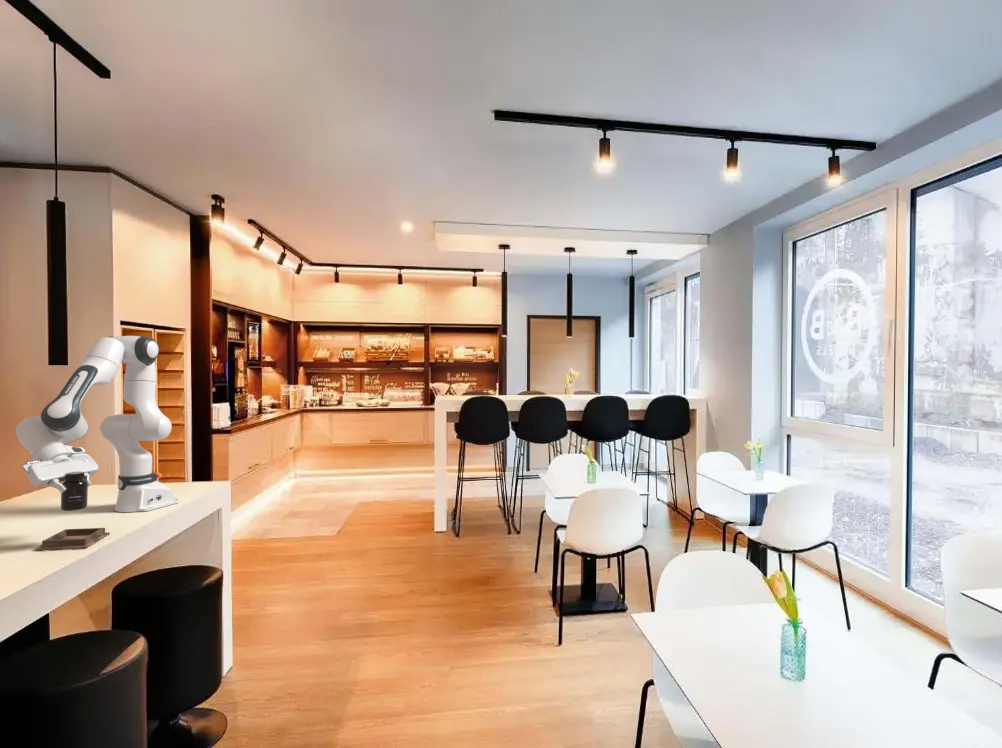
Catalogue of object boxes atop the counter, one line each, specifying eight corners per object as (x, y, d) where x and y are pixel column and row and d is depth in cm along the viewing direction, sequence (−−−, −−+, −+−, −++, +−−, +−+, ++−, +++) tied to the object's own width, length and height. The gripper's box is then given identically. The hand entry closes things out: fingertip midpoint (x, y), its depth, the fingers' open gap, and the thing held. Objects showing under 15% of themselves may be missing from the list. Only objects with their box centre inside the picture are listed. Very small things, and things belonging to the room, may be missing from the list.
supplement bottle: (71, 511, 166) (72, 475, 166) (55, 510, 168) (55, 474, 167) (92, 506, 173) (93, 471, 173) (76, 504, 174) (77, 470, 174)
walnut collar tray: (63, 536, 176) (63, 528, 176) (109, 534, 179) (109, 526, 179) (36, 551, 162) (36, 542, 162) (86, 548, 165) (86, 540, 165)
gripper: (24, 456, 161) (49, 489, 160) (87, 446, 181) (110, 475, 180) (13, 469, 162) (38, 502, 160) (77, 458, 182) (99, 487, 181)
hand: (77, 488), depth 170 cm, fingers closed on supplement bottle, 6 cm apart
